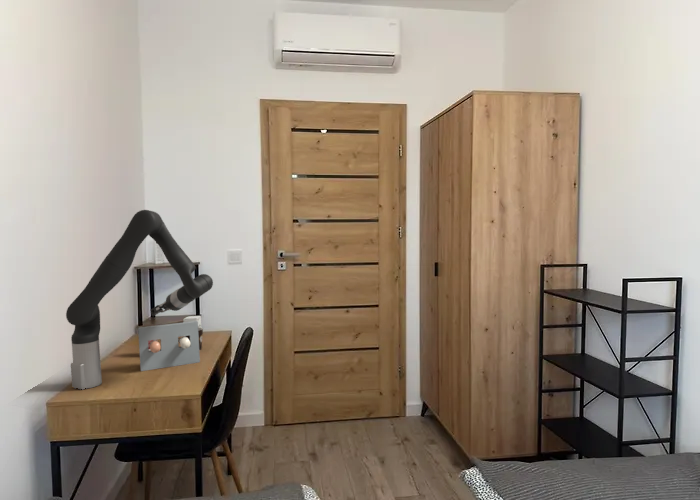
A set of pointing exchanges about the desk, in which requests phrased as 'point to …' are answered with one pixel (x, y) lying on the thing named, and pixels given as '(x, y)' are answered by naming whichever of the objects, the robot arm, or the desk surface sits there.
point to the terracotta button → (155, 346)
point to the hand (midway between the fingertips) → (161, 310)
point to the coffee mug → (200, 332)
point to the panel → (168, 345)
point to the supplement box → (193, 318)
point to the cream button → (184, 342)
